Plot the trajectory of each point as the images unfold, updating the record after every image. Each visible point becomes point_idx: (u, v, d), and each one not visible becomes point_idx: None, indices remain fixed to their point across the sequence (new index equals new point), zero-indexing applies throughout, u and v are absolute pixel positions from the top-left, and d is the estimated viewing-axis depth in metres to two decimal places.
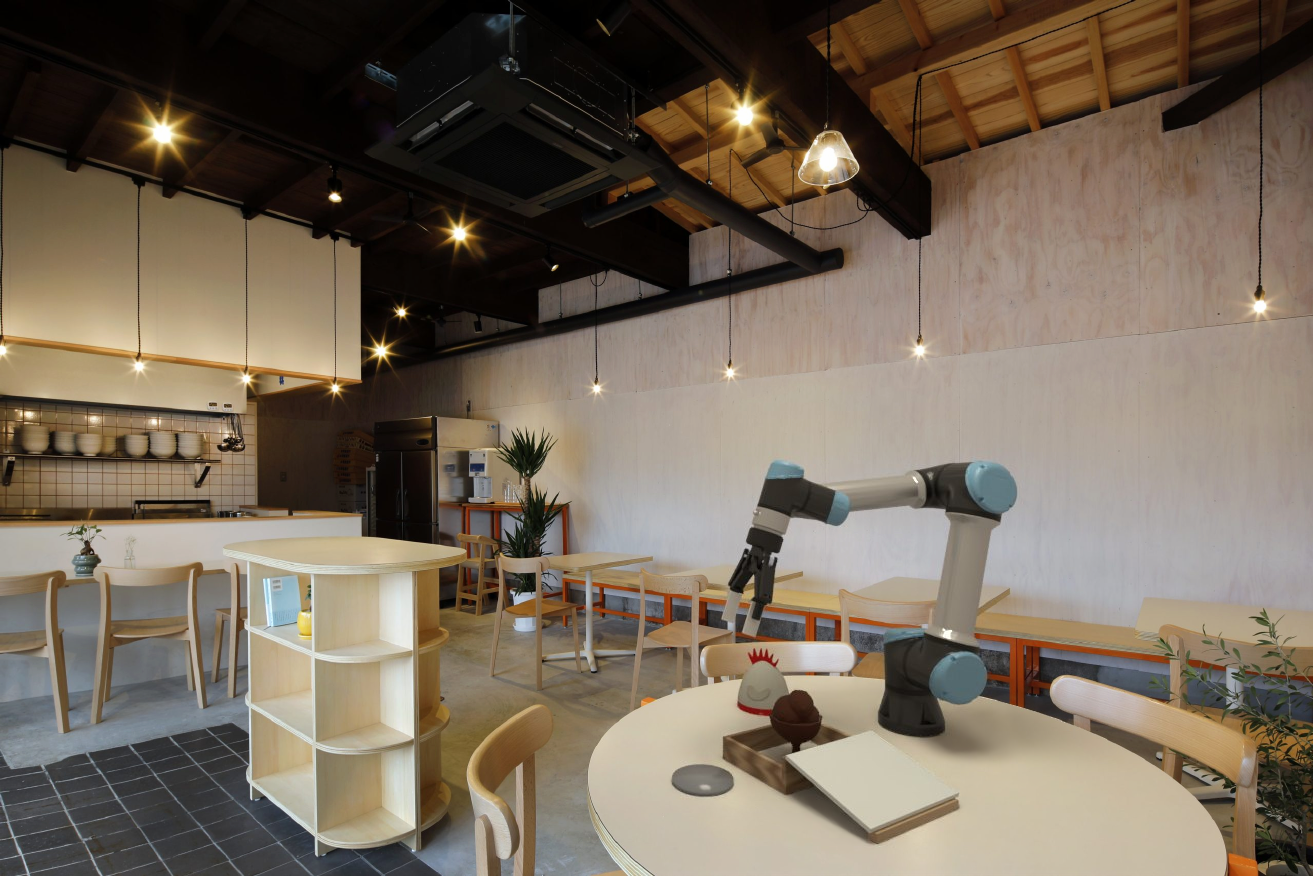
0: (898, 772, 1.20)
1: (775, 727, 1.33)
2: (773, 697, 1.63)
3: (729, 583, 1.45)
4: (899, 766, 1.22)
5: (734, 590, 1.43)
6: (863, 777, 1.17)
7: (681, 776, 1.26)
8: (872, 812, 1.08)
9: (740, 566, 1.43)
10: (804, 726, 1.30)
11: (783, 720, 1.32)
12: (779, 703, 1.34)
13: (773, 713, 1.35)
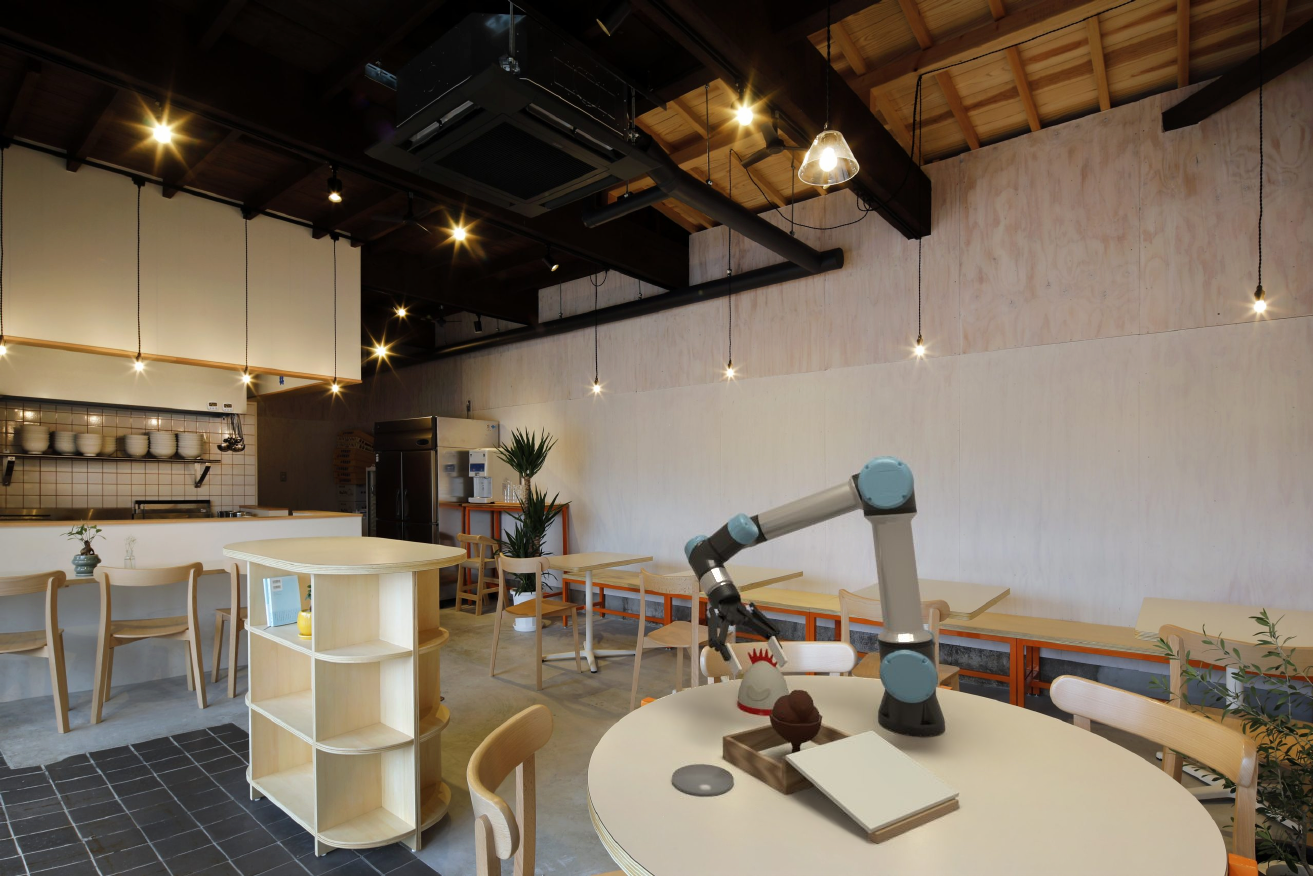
0: (898, 772, 1.20)
1: (775, 727, 1.33)
2: (773, 697, 1.63)
3: None
4: (899, 766, 1.22)
5: (770, 639, 1.53)
6: (863, 777, 1.17)
7: (681, 776, 1.26)
8: (872, 812, 1.08)
9: None
10: (804, 726, 1.30)
11: (783, 720, 1.32)
12: (779, 703, 1.34)
13: (773, 713, 1.35)
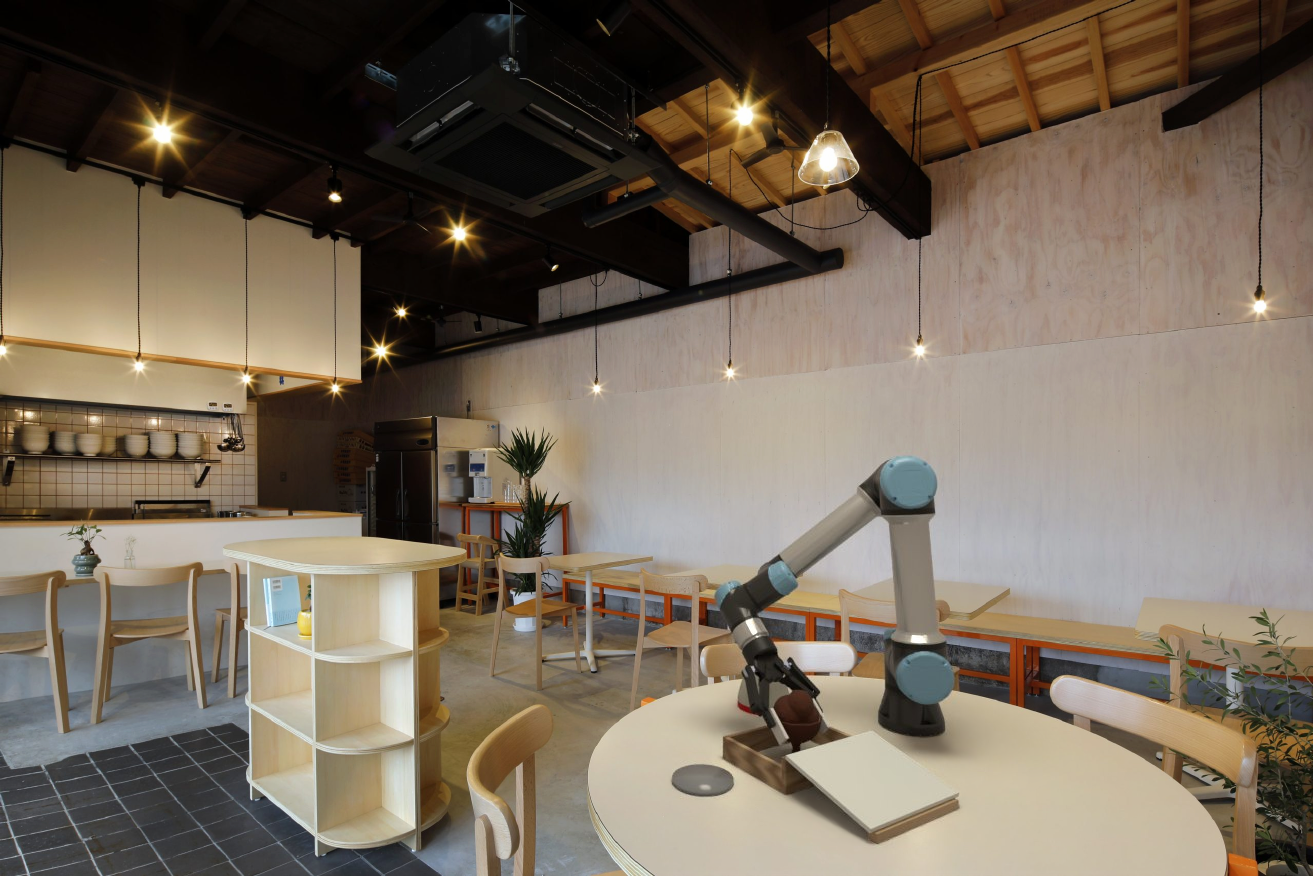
0: (898, 772, 1.20)
1: None
2: (773, 697, 1.63)
3: None
4: (899, 766, 1.22)
5: None
6: (863, 777, 1.17)
7: (681, 776, 1.26)
8: (872, 812, 1.08)
9: None
10: (804, 726, 1.30)
11: (783, 720, 1.32)
12: (779, 703, 1.34)
13: None
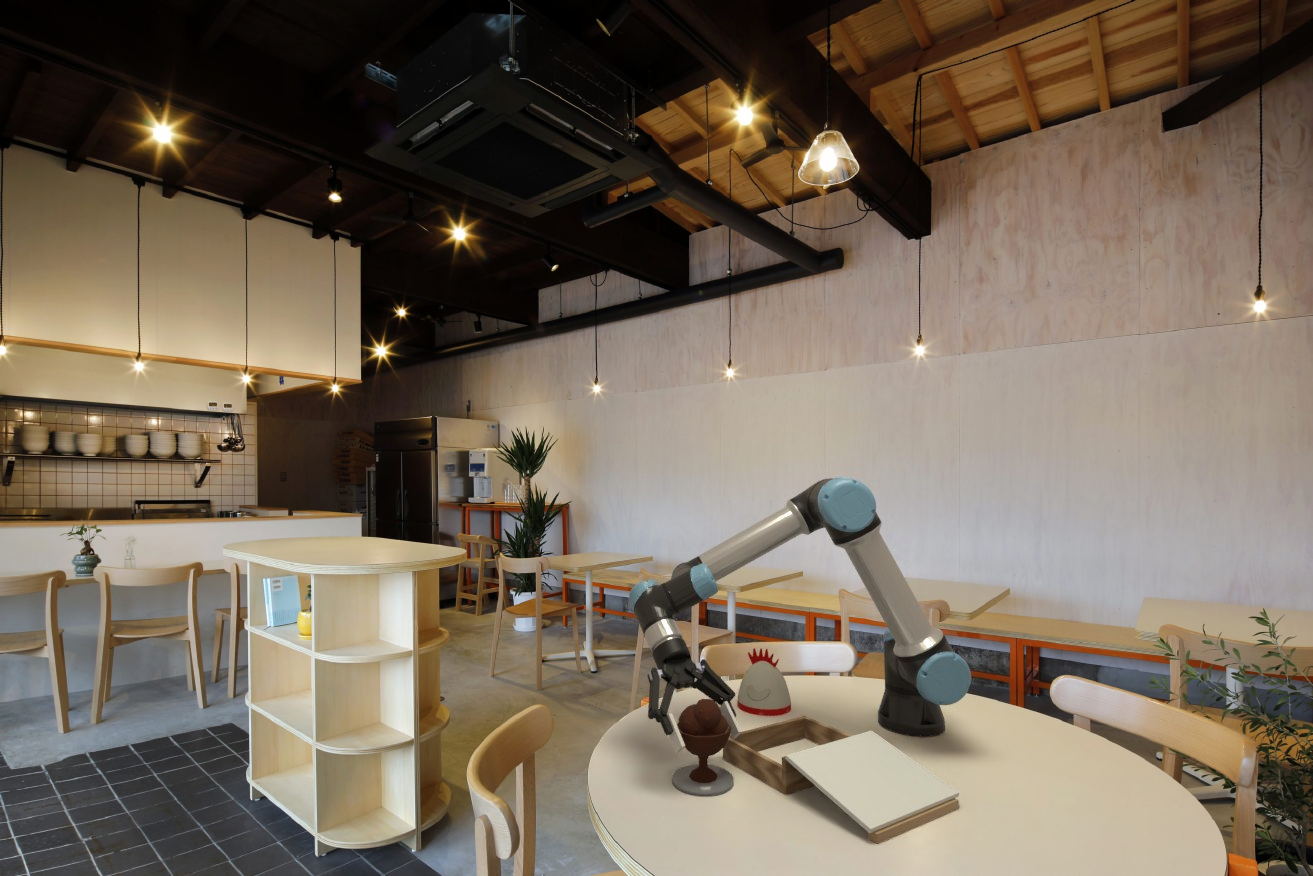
0: (898, 772, 1.20)
1: None
2: (773, 697, 1.63)
3: None
4: (899, 766, 1.22)
5: (722, 704, 1.32)
6: (863, 777, 1.17)
7: (681, 776, 1.26)
8: (872, 812, 1.08)
9: (708, 682, 1.36)
10: (708, 738, 1.21)
11: (687, 732, 1.23)
12: (684, 713, 1.25)
13: (678, 724, 1.26)
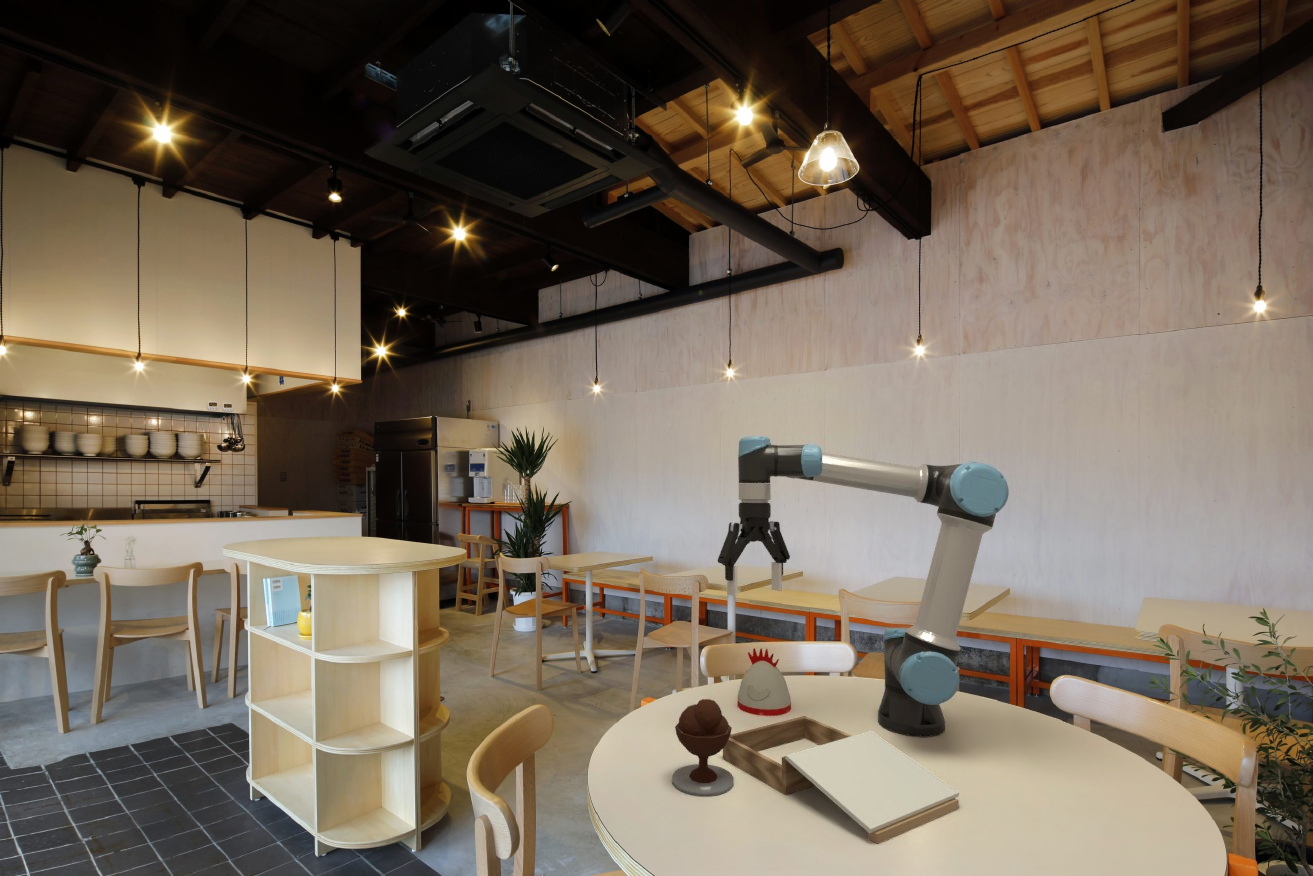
0: (898, 772, 1.20)
1: (680, 739, 1.25)
2: (773, 697, 1.63)
3: None
4: (899, 766, 1.22)
5: (776, 561, 1.55)
6: (863, 777, 1.17)
7: (681, 776, 1.26)
8: (872, 812, 1.08)
9: (773, 538, 1.56)
10: (708, 738, 1.21)
11: (687, 732, 1.23)
12: (685, 713, 1.25)
13: (679, 724, 1.26)
